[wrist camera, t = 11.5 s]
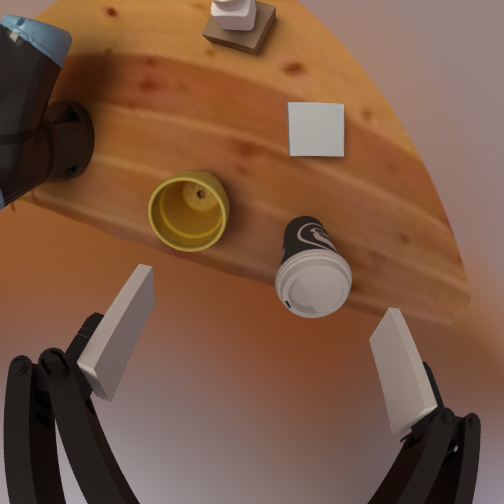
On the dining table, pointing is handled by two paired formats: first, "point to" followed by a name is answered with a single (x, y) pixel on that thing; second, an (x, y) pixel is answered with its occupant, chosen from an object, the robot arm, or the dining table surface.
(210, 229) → the plant pot
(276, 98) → the dining table surface
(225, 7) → the pepper shaker
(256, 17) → the walnut block
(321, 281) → the coffee cup
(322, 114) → the grey-blue block
